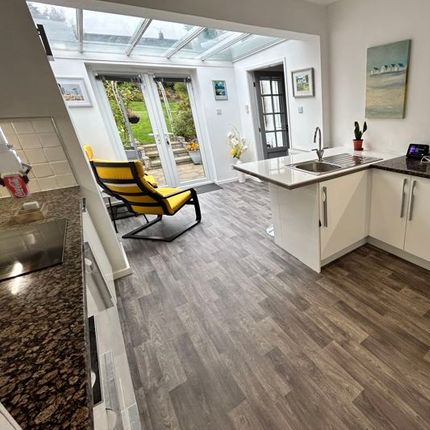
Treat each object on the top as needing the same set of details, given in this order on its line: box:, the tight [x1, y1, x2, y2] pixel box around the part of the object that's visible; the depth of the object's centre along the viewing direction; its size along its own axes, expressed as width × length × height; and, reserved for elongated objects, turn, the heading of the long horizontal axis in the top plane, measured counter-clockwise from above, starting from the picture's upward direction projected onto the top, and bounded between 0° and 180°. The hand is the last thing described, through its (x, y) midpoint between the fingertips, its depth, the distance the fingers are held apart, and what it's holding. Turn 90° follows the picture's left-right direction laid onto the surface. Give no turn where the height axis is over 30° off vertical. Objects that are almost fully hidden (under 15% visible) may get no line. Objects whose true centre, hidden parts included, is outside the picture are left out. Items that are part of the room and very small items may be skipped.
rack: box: [13, 202, 49, 225], centre depth 139 cm, size 10×19×5 cm, turn 41°
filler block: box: [22, 200, 40, 210], centre depth 142 cm, size 5×5×6 cm
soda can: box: [2, 173, 32, 201], centre depth 130 cm, size 7×7×12 cm
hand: (16, 184), depth 130 cm, fingers closed on soda can, 7 cm apart
